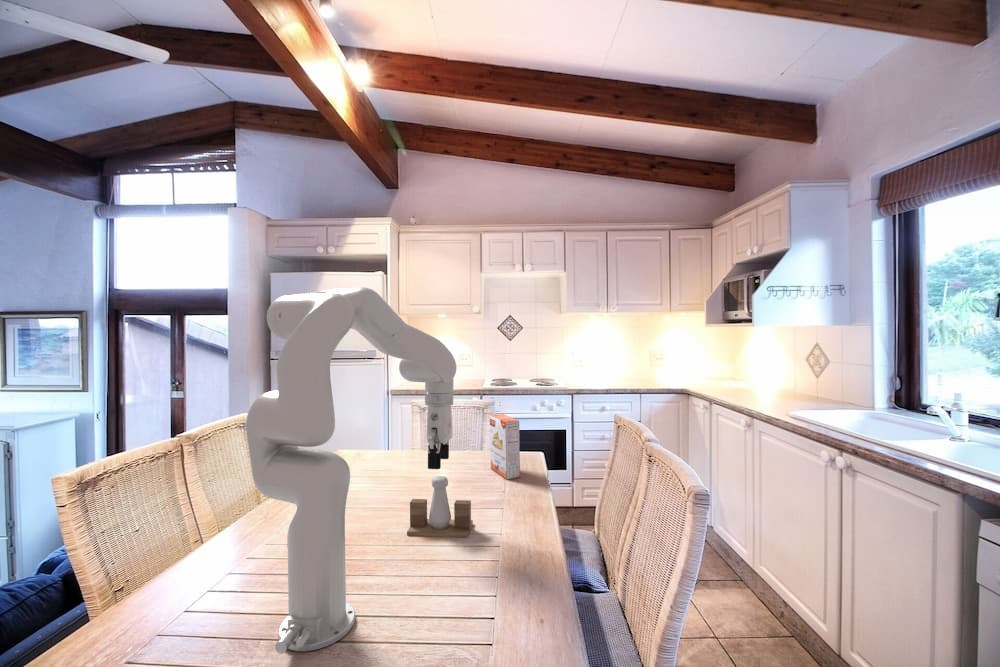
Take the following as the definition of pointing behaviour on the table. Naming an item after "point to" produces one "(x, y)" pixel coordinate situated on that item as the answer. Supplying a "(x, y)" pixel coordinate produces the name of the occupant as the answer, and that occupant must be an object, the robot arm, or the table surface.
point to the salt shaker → (440, 504)
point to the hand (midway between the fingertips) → (438, 463)
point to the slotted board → (455, 527)
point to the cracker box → (505, 446)
